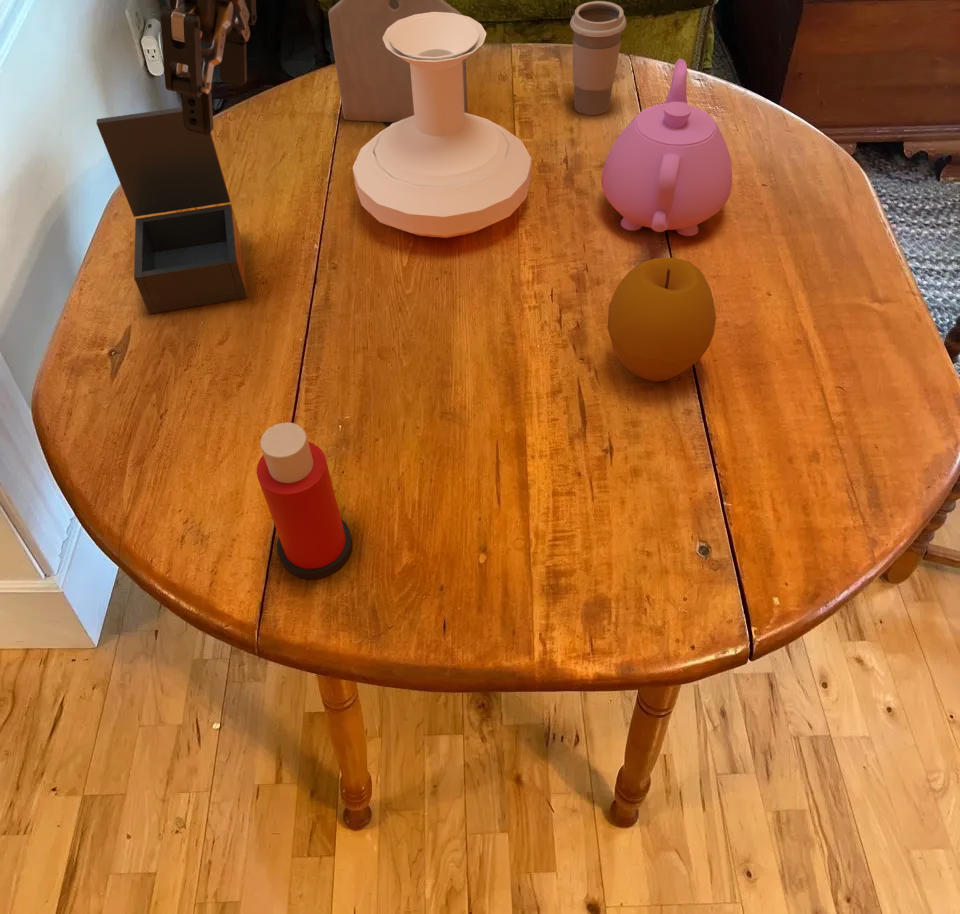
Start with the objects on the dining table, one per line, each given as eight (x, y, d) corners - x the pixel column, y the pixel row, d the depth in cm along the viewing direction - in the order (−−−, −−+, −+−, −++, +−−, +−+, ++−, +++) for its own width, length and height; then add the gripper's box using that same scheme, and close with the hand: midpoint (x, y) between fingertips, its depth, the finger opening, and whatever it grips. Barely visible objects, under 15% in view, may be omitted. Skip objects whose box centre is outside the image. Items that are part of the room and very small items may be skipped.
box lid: (203, 108, 85) (202, 104, 85) (96, 123, 83) (96, 118, 84) (230, 202, 93) (230, 197, 94) (133, 217, 92) (133, 212, 92)
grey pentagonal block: (475, 94, 116) (471, -64, 101) (467, 126, 112) (461, -35, 96) (356, 89, 118) (335, -68, 103) (343, 120, 113) (318, -40, 98)
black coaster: (282, 586, 69) (280, 580, 68) (276, 526, 73) (273, 519, 72) (357, 570, 70) (355, 564, 69) (347, 511, 74) (345, 504, 73)
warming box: (247, 298, 91) (236, 261, 88) (149, 314, 90) (133, 277, 86) (241, 240, 98) (231, 203, 94) (149, 255, 96) (135, 218, 93)
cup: (597, 125, 111) (605, 30, 102) (554, 109, 114) (559, 15, 104) (628, 102, 114) (638, 8, 105) (585, 87, 117) (592, -6, 108)
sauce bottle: (271, 551, 70) (231, 449, 60) (310, 508, 73) (278, 402, 63) (319, 579, 68) (287, 478, 58) (358, 533, 71) (333, 429, 61)
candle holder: (355, 261, 95) (327, 92, 80) (361, 159, 107) (338, -4, 92) (538, 252, 95) (545, 82, 80) (523, 151, 108) (526, -13, 93)
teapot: (609, 152, 107) (619, 51, 97) (726, 163, 105) (749, 61, 95) (589, 253, 95) (599, 149, 85) (722, 267, 93) (747, 162, 83)
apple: (630, 318, 88) (645, 220, 79) (720, 353, 85) (746, 255, 76) (584, 377, 83) (593, 280, 74) (677, 417, 80) (699, 320, 70)
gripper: (190, -151, 66) (202, 58, 78) (110, -88, 57) (139, 137, 69) (287, -125, 66) (284, 78, 79) (224, -59, 57) (232, 160, 69)
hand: (216, 106), depth 74 cm, fingers open, 8 cm apart
